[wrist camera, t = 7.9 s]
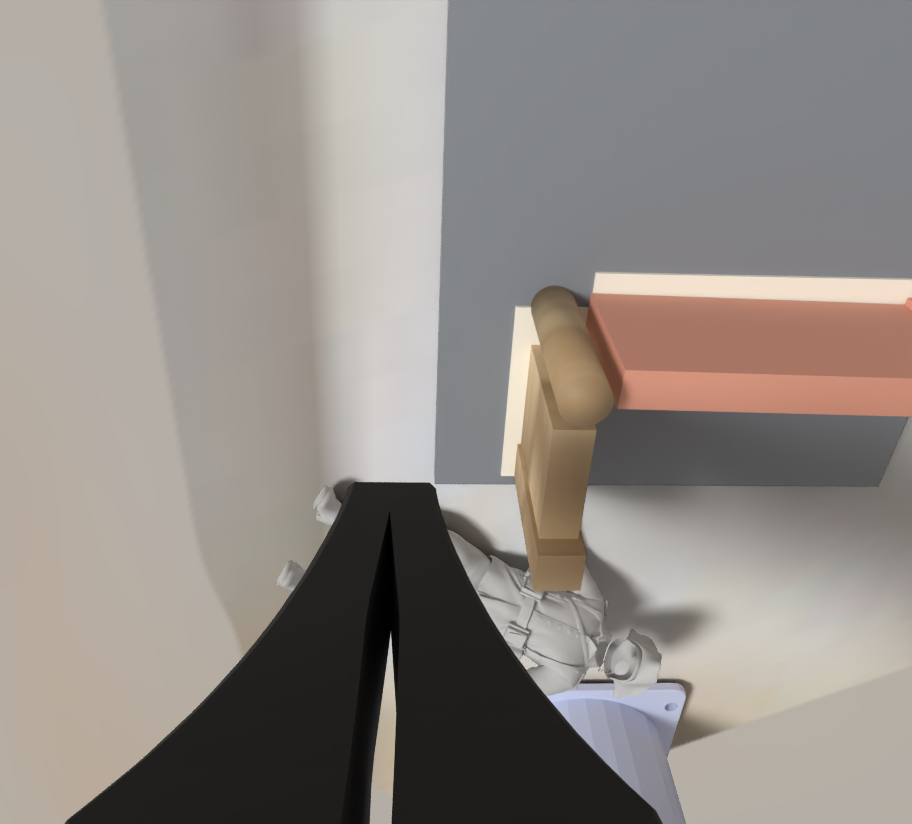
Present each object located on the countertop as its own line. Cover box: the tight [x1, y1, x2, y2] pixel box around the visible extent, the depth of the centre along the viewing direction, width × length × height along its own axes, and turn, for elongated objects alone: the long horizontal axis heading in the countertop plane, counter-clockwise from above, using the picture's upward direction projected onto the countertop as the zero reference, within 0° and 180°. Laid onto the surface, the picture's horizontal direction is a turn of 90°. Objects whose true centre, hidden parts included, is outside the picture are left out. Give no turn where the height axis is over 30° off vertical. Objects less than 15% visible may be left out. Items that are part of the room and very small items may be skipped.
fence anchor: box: [514, 286, 614, 591], centre depth 20 cm, size 6×1×5 cm, turn 178°
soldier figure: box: [277, 485, 662, 698], centre depth 24 cm, size 8×5×12 cm
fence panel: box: [586, 293, 912, 417], centre depth 19 cm, size 10×1×5 cm, turn 87°
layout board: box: [434, 0, 912, 487], centre depth 19 cm, size 17×14×1 cm
